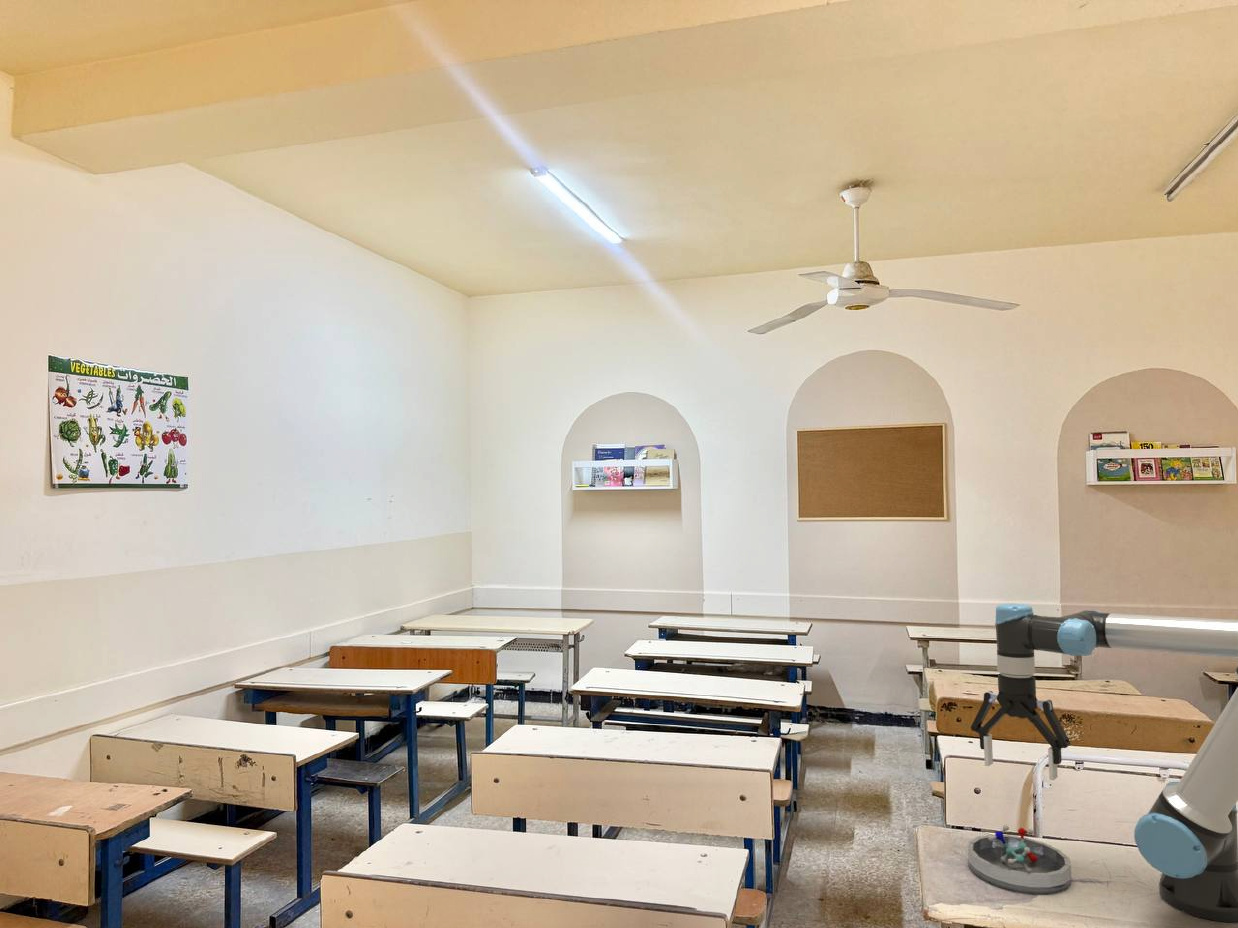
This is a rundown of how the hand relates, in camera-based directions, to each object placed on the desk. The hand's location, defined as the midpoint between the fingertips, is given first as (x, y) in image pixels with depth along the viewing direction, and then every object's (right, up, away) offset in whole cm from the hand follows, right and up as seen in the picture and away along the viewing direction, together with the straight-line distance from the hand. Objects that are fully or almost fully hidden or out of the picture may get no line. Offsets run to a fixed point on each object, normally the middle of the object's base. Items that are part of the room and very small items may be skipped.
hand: (1020, 771), depth 179 cm
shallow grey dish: (-1, -22, -2) cm, 22 cm away
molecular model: (-2, -20, -1) cm, 20 cm away
